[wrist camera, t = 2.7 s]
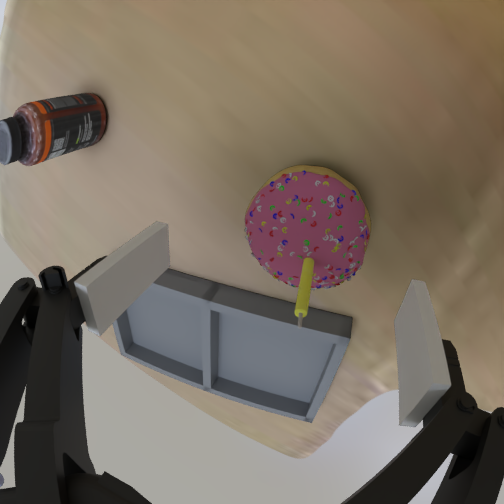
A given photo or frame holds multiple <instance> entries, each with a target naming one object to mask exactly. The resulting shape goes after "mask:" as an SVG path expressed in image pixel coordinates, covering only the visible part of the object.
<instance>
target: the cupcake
mask: <svg viewBox="0 0 504 504" xmlns="http://www.w3.org/2000/svg"><path fill="white" fill-rule="evenodd" d="M245 226H246V227H245V232H246V233H247V236H246V239H247V238H248V239H247V240H248V241H249V244H250V247H251V250H252V252H253V253H251V255H252V254H253V255H252V256H253V257H256V259H257V260H258V261H259V263H260V265H261V266H263V269H264V270H266V271H267V272H269V273H270V274H271V275H273V278H275V279H277V280H278V281H279V280H281V281H283V282H285V283H286V284H289V285H292V286H293V287H299V290H298V295H297V301H296V306H295V312H294V313H295V315H296V316H297V317H299V319H298V328H299V329H301V328H302V319H303V317H305V316H306V315H307V311H308V305H309V298H310V290H315V289H319V288H322V287H324V289H328V288H330V287H335V286H336V285H340V284H339V283H343V282H344V280H346V279H347V281H350V280H351V276H352V275H353V276H354V275H355V272H356V271H357V270H359V269H360V268H361V265H362V263H363V258H364V254H365V251H366V249H367V246H368V242H369V237H370V232H371V220H370V216H369V213H368V210H367V208H366V206H365V204H364V202H363V200H362V198H361V196H360V194H359V192H358V190H357V189H356V187H355V186H353V185H352V184H351V183H350V182H348V181H347V180H345V179H344V178H342V177H341V176H340V175H338V174H337V173H335V172H334V171H332V170H330V169H328V168H325V167H317V166H308V165H296V166H292V167H289V168H287V169H284V170H282V171H280V172H278V173H277V174H275V175H274V176H273V177H271V178H270V179H269V180H268V181H267V182H266V183H265V184H264V185H263V186H262V188H261V189H260V190H259V191H258V192H257V193H256V195H255V196H254V197H253V199H252V200H251V202H250V204H249V206H248V208H247V211H246V215H245ZM254 255H255V256H254ZM349 277H350V278H349ZM348 278H349V279H348ZM325 287H327V288H325Z"/></svg>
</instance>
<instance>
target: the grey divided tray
mask: <svg viewBox="0 0 504 504" xmlns="http://www.w3.org/2000/svg"><path fill="white" fill-rule="evenodd" d="M295 306H296V304H295V303H291V302H287V301H283V300H279V299H275V298H272V297H268V296H264V295H260V294H257V293H253V292H249V291H245V290H242V289H238V288H234V287H231V286H227V285H224V284H220V283H216V282H213V281H209V280H206V279H202V278H199V277H195V276H192V275H188V274H185V273H182V272H178V271H175V270H171V269H167V270H166V271H165V272H164V273H163V274H162V275H160V276H159V277H158V278H157V279H156V280H155V281H154V282H153V283H152V284H151V285H150V286H149V287H148V288H147V289H146V290H145V291H144V292H143V293H142V294H141V295H140V296H139V297H138V298H137V299H136V300H135V301H134V302H133V303H132V304H131V305H130V306H129V307H128V308H127V309H126V310H125V311H124V312H123V313H122V314H121V315H120V316H119V317H118V318H117V319H116V320H115V321H114V322H113V323H112V324H113V328H114V332H115V335H116V339H117V342H118V346H119V349H120V352H121V355H123V356H125V357H127V358H129V359H131V360H133V361H135V362H138V363H140V364H142V365H144V366H146V367H148V368H151V369H153V370H155V371H157V372H160V373H162V374H164V375H167V376H169V377H171V378H174V379H176V380H179V381H181V382H184V383H186V384H189V385H191V386H194V387H196V388H199V389H202V390H204V391H207V392H210V393H213V394H215V395H218V396H221V397H224V398H227V399H230V400H233V401H236V402H239V403H242V404H245V405H248V406H251V407H255V408H258V409H261V410H265V411H268V412H272V413H275V414H279V415H282V416H286V417H290V418H294V419H298V420H302V421H306V422H310V423H312V421H313V419H314V417H315V415H316V414H317V412H318V410H319V408H320V405H321V403H322V401H323V399H324V397H325V395H326V393H327V391H328V389H329V387H330V385H331V382H332V380H333V378H334V376H335V374H336V371H337V369H338V367H339V365H340V362H341V360H342V358H343V355H344V353H345V351H346V348H347V346H348V343H349V341H350V338H351V328H352V317H348V316H344V315H340V314H335V313H331V312H327V311H323V310H319V309H315V308H311V307H308V311H307V315H306V316H305V317H303V319H302V328H301V329H299V328H298V319H299V317H297V316H296V315H295V313H294V312H295Z"/></svg>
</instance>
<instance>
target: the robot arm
mask: <svg viewBox="0 0 504 504" xmlns="http://www.w3.org/2000/svg"><path fill="white" fill-rule="evenodd" d="M169 267H170V255H169V233H168V224H167V223H163V222H158V221H156V222H155V223H153V224H152V225H151V226H149V227H148V228H146V229H145V230H143V231H142V232H140V233H139V234H138V235H136V236H135V237H133V238H132V239H131V240H129V241H128V242H126V243H125V244H124V245H122V246H121V247H119V248H118V249H117V250H115V251H114V252H113V253H111V254H110V255H108V256H104V257H102V258H99V259H97V260H96V261H94V262H93V263H92V264H90V266H88V267H86V268H85V270H82V271H81V272H80V273H78V274H77V275H76V276H74V277H73V278H72V279H71V280H69V281H68V282H67V278H66V274H65V270H64V268H63V267H60V266H51V267H48V268H46V269H44V270H43V271H41V272H40V274H39V279H40V282H41V285H42V288H38V287H36V285H35V281H34V279H32V278H29V277H27V278H21V279H19V280H18V281H16V282H15V283H14V284H13V286H12V287H11V289H10V290H9V292H8V293H7V295H6V296H5V298H4V299H3V301H2V302H1V304H0V466H1V464H2V462H3V459H4V457H5V454H6V451H7V447H8V444H9V440H10V436H11V432H12V428H13V425H14V421H15V418H16V414H17V411H18V408H19V405H20V402H21V398H22V395H23V392H24V389H25V386H26V395H25V409H24V420H23V422H19V423H17V424H16V427H15V436H14V462H15V464H14V465H15V485H16V487H12V488H6V489H0V504H152V503H150V502H149V501H148V500H147V499H146V498H144V497H143V496H142V495H141V494H140V493H138V492H137V491H136V490H135V489H133V487H131V486H130V485H128V484H126V483H124V482H122V481H120V480H119V479H117V478H115V477H114V476H112V475H110V474H109V473H107V472H104V473H103V474H102V475H98V474H96V473H95V469H94V466H93V464H92V462H91V460H90V457H89V453H88V446H87V438H86V429H85V418H84V405H83V387H82V386H83V385H82V327H81V324H82V323H84V322H85V321H86V324H87V327H88V330H89V331H91V332H93V333H95V334H97V335H99V336H101V335H102V334H103V333H104V332H105V331H106V330H107V329H108V328H109V326H110V325H111V324H112V323H113V322H114V321H115V320H116V319H117V318H118V317H119V316H120V315H121V314H122V313H123V312H124V311H125V310H126V309H127V308H128V307H129V306H130V305H131V304H132V303H133V302H134V301H135V300H136V299H137V298H138V297H139V296H140V295H141V294H142V293H143V292H144V291H145V290H146V289H147V288H148V287H149V286H150V285H151V284H152V283H153V282H154V281H155V280H156V279H157V278H158V277H159V276H160V275H162V274H163V273H164V272H165V271H166V270H167V269H168V268H169ZM23 318H24V321H25V322H24V324H23V325H22V319H23ZM394 326H395V336H396V348H397V362H398V381H399V425H400V426H410V427H416V426H417V425H418V424H419V423H420V422H421V421H422V420H423V428H422V430H421V431H420V432H419V433H418V434H417V435H416V436H415V437H414V438H413V439H412V440H411V441H410V442H409V443H408V444H407V445H406V447H405V448H404V449H403V450H402V451H401V452H400V453H399V454H398V455H397V456H396V457H395V458H393V459H392V460H391V461H390V462H389V463H388V464H387V465H386V466H385V467H384V468H383V469H382V470H381V471H380V472H379V473H377V474H376V475H375V476H374V477H373V478H372V479H371V480H369V481H368V482H367V483H366V484H365V485H364V486H362V487H361V488H360V489H359V490H358V491H356V492H355V493H354V494H352V495H351V496H350V497H349V498H347V499H346V500H345V501H344V502H342V503H341V504H408V503H409V502H410V501H411V499H412V498H413V497H414V496H415V495H416V494H417V493H418V492H419V491H420V490H421V489H422V487H423V486H424V485H425V484H426V483H427V482H428V480H429V479H430V478H431V477H432V476H433V474H434V473H435V472H436V471H437V469H438V468H439V467H440V466H441V464H442V463H443V462H444V461H445V459H446V458H447V457H448V455H449V454H450V453H452V454H454V455H453V458H452V460H451V462H450V465H449V467H448V469H447V472H446V474H445V476H444V478H443V481H442V482H441V485H440V487H439V489H438V491H437V493H436V495H435V497H434V499H433V501H432V503H431V504H495V503H496V500H497V497H498V494H499V491H500V488H501V485H502V481H503V478H504V408H503V407H499V408H497V409H495V410H494V411H493V412H492V413H491V414H490V413H488V412H486V411H483V410H481V409H479V408H477V403H476V401H475V399H474V398H473V397H472V395H470V394H469V393H467V392H466V390H465V385H464V381H463V376H462V372H461V368H460V363H459V360H458V355H457V351H456V349H455V347H454V346H453V344H452V343H451V341H449V340H443V339H441V335H440V331H439V327H438V323H437V320H436V316H435V313H434V309H433V306H432V302H431V299H430V296H429V292H428V289H427V286H426V283H425V282H424V281H419V280H415V279H412V280H411V282H410V285H409V287H408V290H407V292H406V295H405V297H404V299H403V302H402V304H401V306H400V309H399V311H398V313H397V316H396V318H395V320H394ZM26 384H27V385H26ZM3 483H4V478H3V476H2V474H1V473H0V486H2V485H3Z"/></svg>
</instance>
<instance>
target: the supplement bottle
mask: <svg viewBox="0 0 504 504" xmlns="http://www.w3.org/2000/svg"><path fill="white" fill-rule="evenodd" d="M105 126H106V112H105V108H104V105H103V103H102V101H101V100H100V99H99V98H98V97H97V96H96V95H94V94H91V93H85V94H84V93H83V94H75V95H68V96H62V97H56V98H50V99H45V100H39V101H35V102H29V103H26V104H24V105H22V106H20V107H19V108H18V109H17V110H16V112H15V113H14V116H13V117H9V118H7V119H4V120H1V121H0V162H1V163H2V164H4V165H6V164H9V163H12V162H15V161H17V160H18V161H19V162H20V163H22V164H23V165H26V166H32V165H35V164H38V163H40V162H43V161H46V160H49V159H52V158H55V157H57V156H60V155H63V154H66V153H70V152H73V151H76V150H79V149H82V148H86V147H88V146H92V145H94V144H95V143H97V142H98V141H99V140H100V138H101V137H102V135H103V133H104V130H105Z"/></svg>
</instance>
